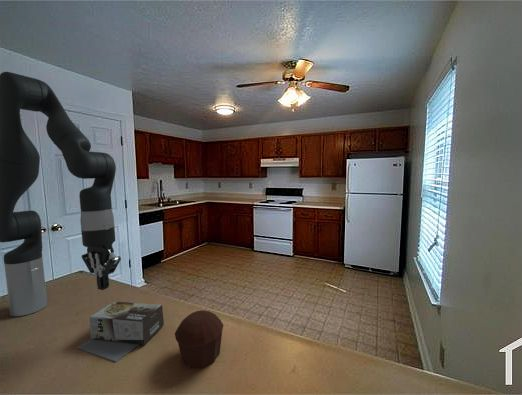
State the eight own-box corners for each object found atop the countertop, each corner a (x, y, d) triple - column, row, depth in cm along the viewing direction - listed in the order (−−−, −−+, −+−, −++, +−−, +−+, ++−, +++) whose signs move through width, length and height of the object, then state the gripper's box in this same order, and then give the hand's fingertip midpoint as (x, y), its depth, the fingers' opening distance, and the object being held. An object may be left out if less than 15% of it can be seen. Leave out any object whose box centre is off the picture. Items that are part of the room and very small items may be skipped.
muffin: (185, 339, 66) (183, 303, 65) (227, 338, 66) (225, 302, 66) (169, 375, 55) (166, 331, 54) (220, 373, 55) (218, 330, 54)
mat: (77, 348, 64) (77, 347, 64) (125, 318, 77) (125, 317, 77) (116, 362, 59) (115, 361, 59) (160, 328, 72) (160, 327, 72)
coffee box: (90, 339, 67) (143, 346, 64) (88, 316, 66) (142, 321, 63) (116, 321, 76) (164, 325, 72) (115, 300, 75) (163, 304, 72)
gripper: (67, 228, 66) (73, 291, 68) (101, 231, 61) (107, 298, 63) (95, 222, 73) (100, 280, 75) (128, 225, 68) (132, 286, 70)
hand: (103, 288), depth 69 cm, fingers closed
